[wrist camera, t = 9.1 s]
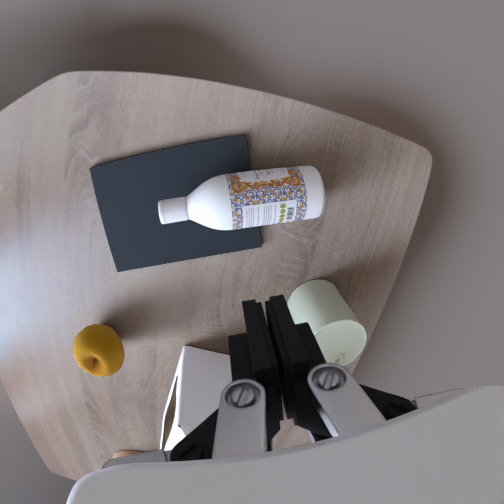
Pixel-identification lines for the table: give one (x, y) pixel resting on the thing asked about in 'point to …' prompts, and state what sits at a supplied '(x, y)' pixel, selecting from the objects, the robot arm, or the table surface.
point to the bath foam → (250, 199)
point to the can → (328, 320)
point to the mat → (161, 188)
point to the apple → (98, 350)
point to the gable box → (194, 393)
